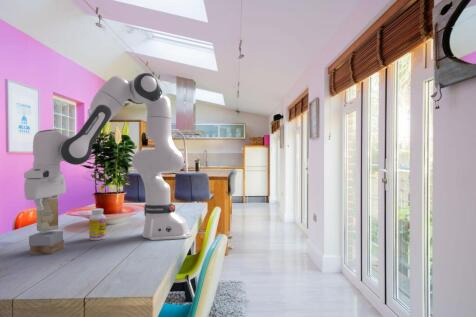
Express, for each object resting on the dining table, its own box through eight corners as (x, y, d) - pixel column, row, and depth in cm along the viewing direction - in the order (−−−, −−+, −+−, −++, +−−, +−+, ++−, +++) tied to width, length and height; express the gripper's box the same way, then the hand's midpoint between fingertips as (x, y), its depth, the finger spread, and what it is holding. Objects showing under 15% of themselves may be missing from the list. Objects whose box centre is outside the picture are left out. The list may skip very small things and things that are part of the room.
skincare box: (41, 232, 118) (40, 199, 118) (36, 230, 121) (35, 198, 120) (59, 229, 123) (58, 197, 123) (54, 227, 126) (53, 196, 125)
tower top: (62, 240, 125) (62, 231, 125) (50, 245, 117) (50, 236, 117) (42, 240, 125) (42, 231, 125) (29, 245, 117) (28, 236, 117)
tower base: (63, 248, 125) (63, 239, 125) (52, 255, 117) (51, 245, 117) (43, 249, 125) (43, 240, 125) (30, 255, 117) (30, 245, 117)
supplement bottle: (99, 241, 135) (99, 210, 135) (85, 240, 137) (85, 210, 137) (109, 237, 142) (108, 208, 142) (95, 236, 143) (95, 207, 143)
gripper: (54, 171, 132) (55, 204, 132) (20, 173, 112) (20, 213, 112) (69, 170, 132) (70, 204, 132) (38, 173, 111) (38, 213, 111)
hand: (47, 208), depth 122 cm, fingers closed on skincare box, 7 cm apart
